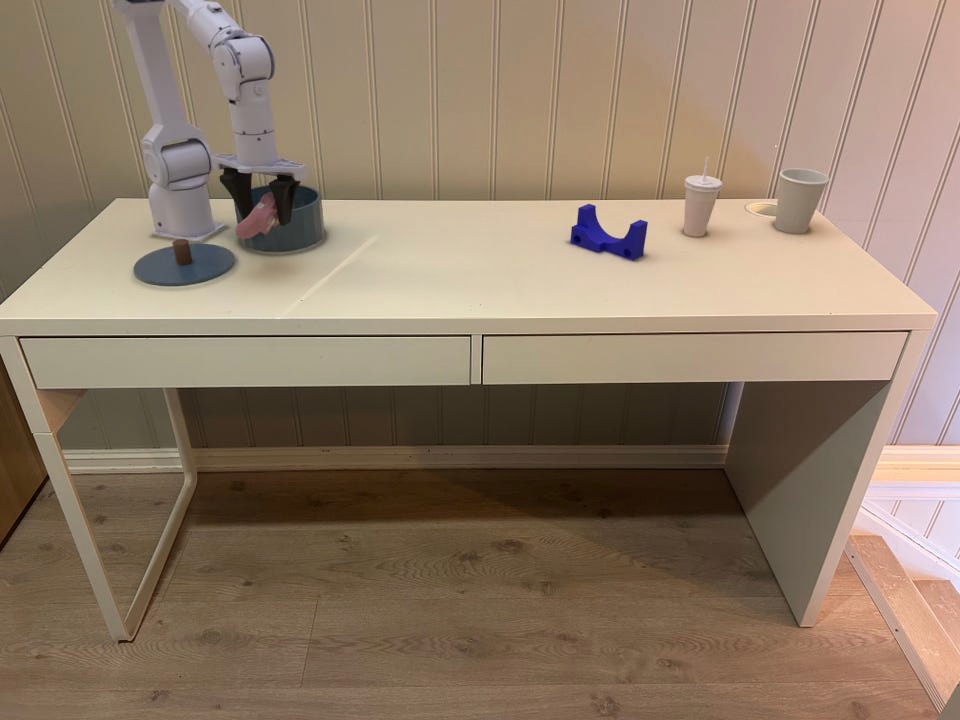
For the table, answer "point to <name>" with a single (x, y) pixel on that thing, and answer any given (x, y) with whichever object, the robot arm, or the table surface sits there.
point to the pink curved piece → (259, 218)
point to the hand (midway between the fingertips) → (266, 220)
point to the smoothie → (699, 201)
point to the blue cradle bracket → (607, 235)
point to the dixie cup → (798, 198)
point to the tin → (296, 233)
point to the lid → (183, 264)
